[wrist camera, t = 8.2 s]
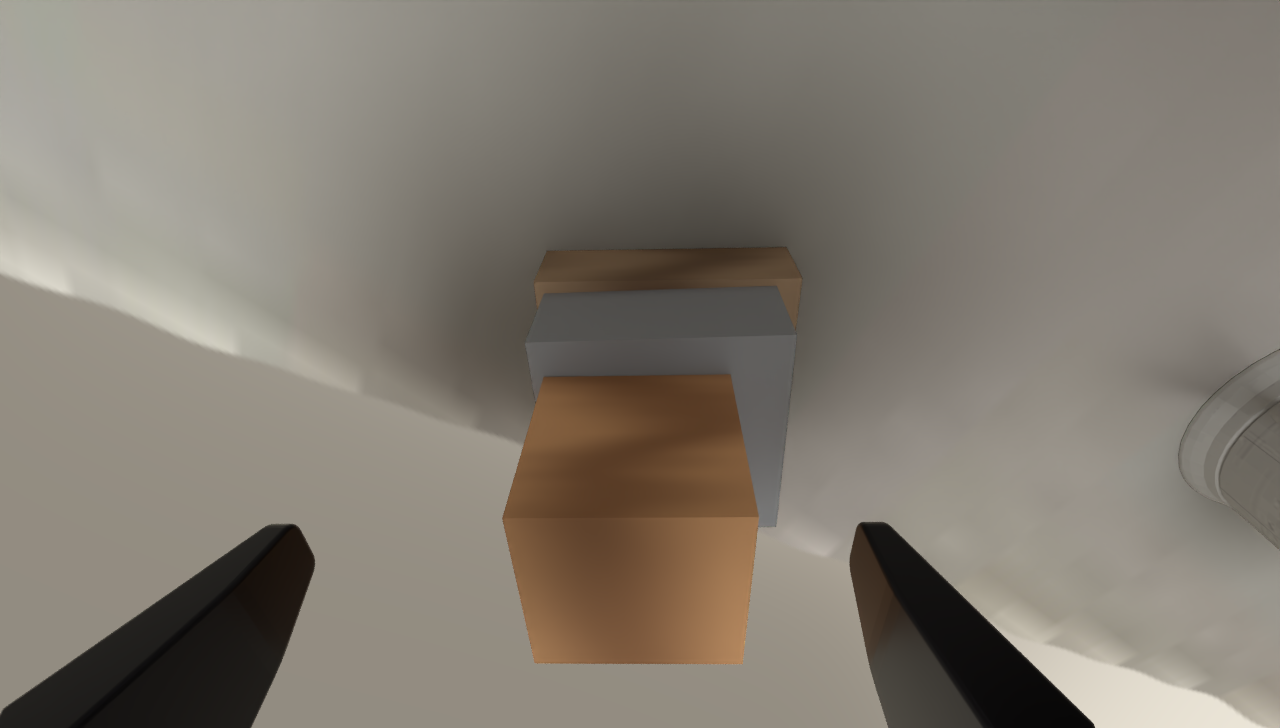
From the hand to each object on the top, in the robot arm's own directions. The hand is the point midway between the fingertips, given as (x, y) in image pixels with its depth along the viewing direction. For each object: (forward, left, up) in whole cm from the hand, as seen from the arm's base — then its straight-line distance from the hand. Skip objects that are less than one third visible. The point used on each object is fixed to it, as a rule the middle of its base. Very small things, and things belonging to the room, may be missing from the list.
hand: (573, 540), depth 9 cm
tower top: (-1, +4, -10) cm, 10 cm away
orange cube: (-1, +4, -7) cm, 8 cm away
